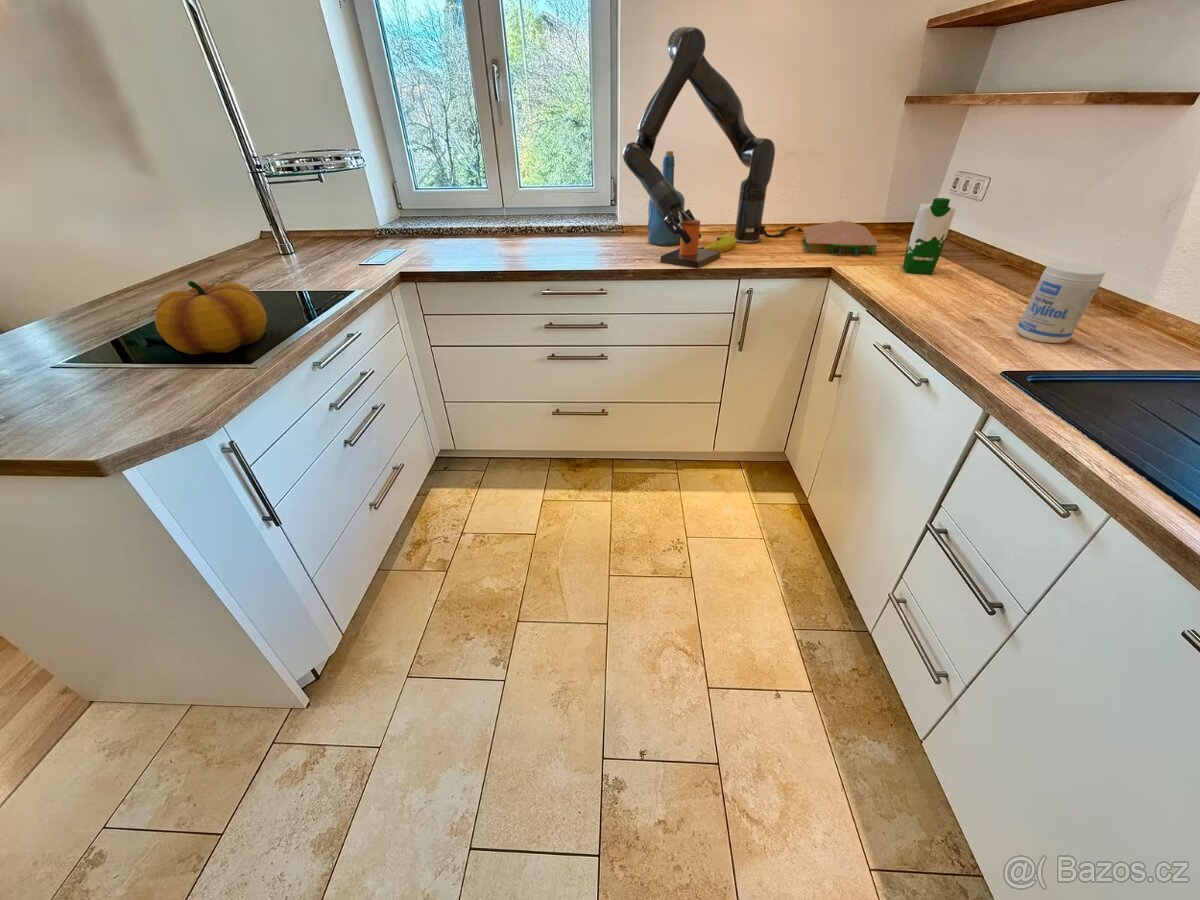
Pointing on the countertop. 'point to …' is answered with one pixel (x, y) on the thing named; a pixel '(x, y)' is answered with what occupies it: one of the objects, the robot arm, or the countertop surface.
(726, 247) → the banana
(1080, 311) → the supplement tub
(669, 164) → the wine bottle
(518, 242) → the countertop surface
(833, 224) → the house
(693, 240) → the tin
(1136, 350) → the countertop surface
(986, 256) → the countertop surface
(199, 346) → the decorative pumpkin
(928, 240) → the milk carton
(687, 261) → the board
